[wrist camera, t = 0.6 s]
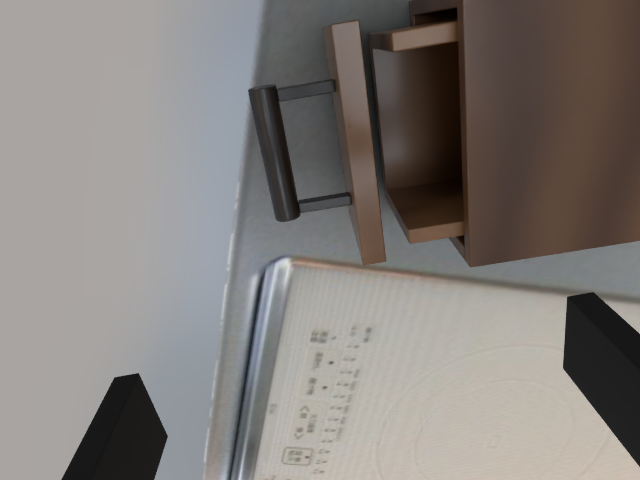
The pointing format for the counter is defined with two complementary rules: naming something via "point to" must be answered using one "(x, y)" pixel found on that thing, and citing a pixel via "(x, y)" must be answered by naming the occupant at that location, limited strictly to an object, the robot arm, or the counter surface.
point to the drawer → (381, 133)
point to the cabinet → (545, 124)
